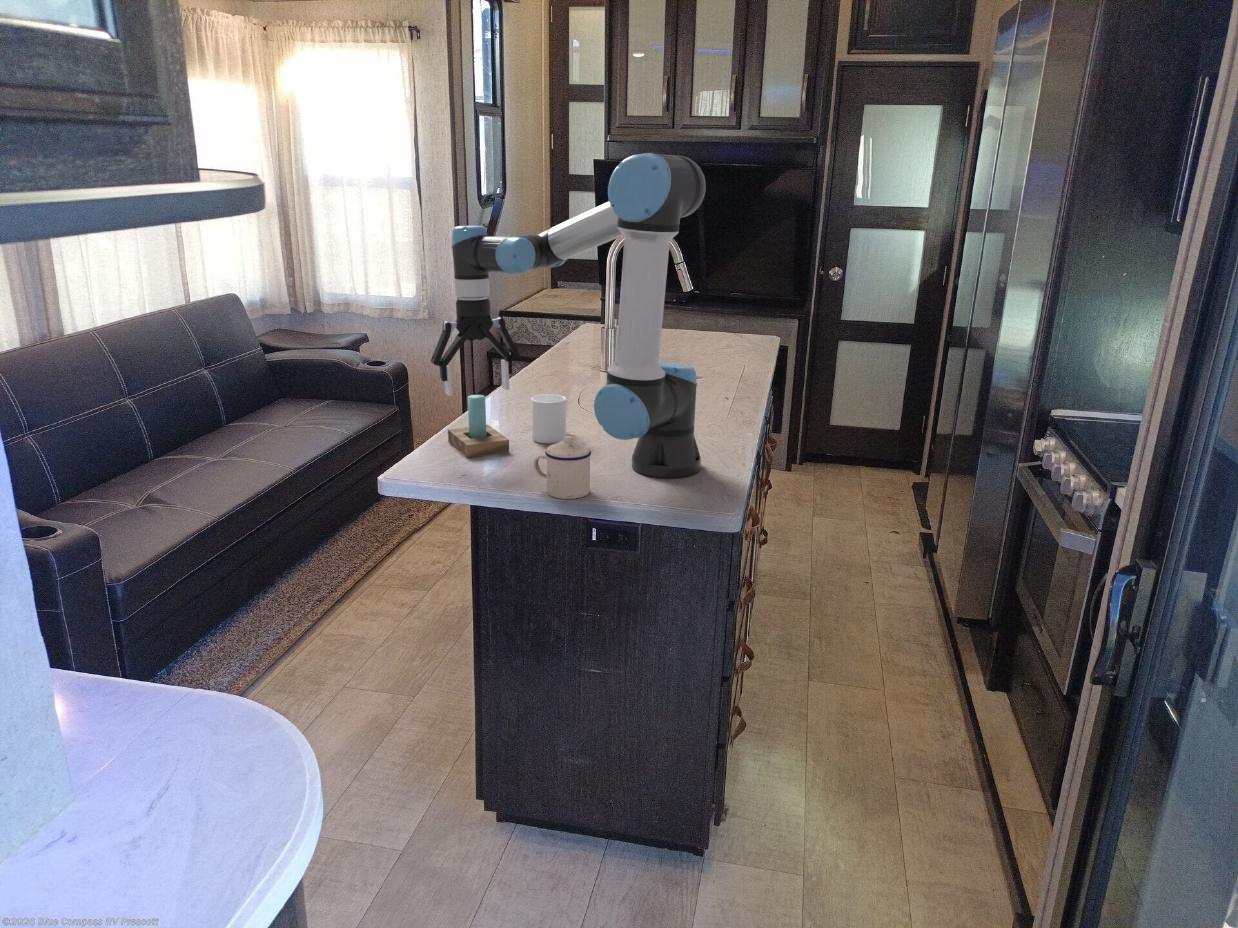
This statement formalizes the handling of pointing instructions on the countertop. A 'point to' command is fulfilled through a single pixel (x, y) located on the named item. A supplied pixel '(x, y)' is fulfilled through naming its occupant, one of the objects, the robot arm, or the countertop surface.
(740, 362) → the countertop surface
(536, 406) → the cup
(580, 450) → the teacup with lid
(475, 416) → the peg
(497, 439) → the socket
